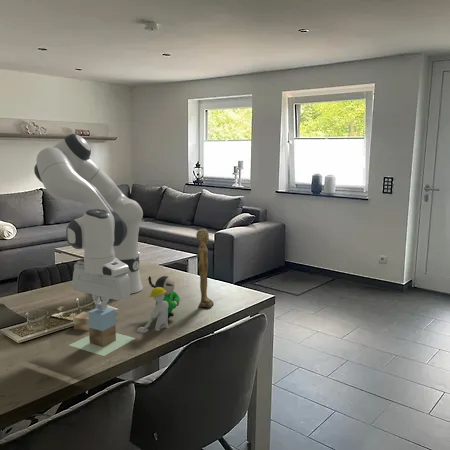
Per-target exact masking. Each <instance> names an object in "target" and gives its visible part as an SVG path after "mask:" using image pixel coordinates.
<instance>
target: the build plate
mask: <svg viewBox="0 0 450 450" xmlns="http://www.w3.org/2000/svg"><path fill="white" fill-rule="evenodd" d="M135 339H136V337H132V336H129V335H125V334H121V333H118V332H116V341H114V342H112V343H110V344H108V345H106V346H104V347H101V346H98V345H95V344H91V343H90V340H89V335H87V336H84V337H83V338H81V339H79V340H77V341H75V342H72V343H71V344H68V346H70V347H73V348H76V349H80V350H82V351H86V352H89V353H92V354H95V355H99V356H103V357H105V356H107V355H109V354H110V353H112V352H114V351H115V350H117V349H119V348H122V347H123V346H125V345H126V344H128V343H130V342H133V341H134V340H135Z"/></svg>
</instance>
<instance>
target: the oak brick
mask: <svg viewBox="0 0 450 450" xmlns="http://www.w3.org/2000/svg"><path fill="white" fill-rule="evenodd" d="M88 312H89V311H82V312H79V313H80V314H78V315H77V316H75V317H74V321H73V328H74V330H79V331H88V332H89V318H88Z"/></svg>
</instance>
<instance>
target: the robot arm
mask: <svg viewBox="0 0 450 450" xmlns="http://www.w3.org/2000/svg"><path fill="white" fill-rule="evenodd" d="M91 153H92V150H91V147H90V145H89V143H88V142H87V140H86V139H85V138H83V137H82V136H81V135H79V134H77V133H70V134H69V135H66V136H65V137H64V139H62V140H60V141H59V142H58V143H56V144H55V145H53V146H51V147H45V148H43V149H42V150H40V151H39V152H38V153H37V155H36V159H35V160H36V164H35V166H34V170H33V171H34V174H35V177H36V178H37V179H38V181H39V182H41V183H42V185H43V186H44V188H45V190H46V191H47V193H48V194H49V195H50V196H52V197H53V198H55V199H58V200H62V201H68V202H75V203H78V204H83V205H85V206H87V207H88V208H90V209H87V210H86V211H85V212H84V213H83V215H82V216H81V217H78V218H75V219H72V220H71V221H70V222H69V223H68V225H67V226H66V229H65V230H66V231H65V232H66V234H65V235H66V240H67V241H66V242H67V244H69V246H71V247H72V248H74V249H75V250H84V253H83V261H81V260H77V262H74V265H73V272H72V288H73V290H74V291H76V292H80V293H83V294H89V295H91V298H92V300H93V302H94V305H95V309H100V310H106V309H107V308H108V303H109V301H110V300H116V301H119V302H123V301H125V300H127V299H129V298H130V296H131V294H135V293H138V292H140V291H142V290H143V284H142V280H141V275H140V256H139V231H140V226H141V221H142V220H143V216H144V212H143V209H142V207H141V205H140V203H138V202H137V201H136V200H134V199H131V198H129V197H128V196H126V195H125V194H124V193H123V192H122V191H121V189H120V188H119V187H118V185H117V184H116V183H115V182H114V180H113V179H112V178H111V177H110V176H109V175H107V173H106V172H105V171H104V170H103V169H102V168H101V167H100V166H99V165H98V164H97V163H96V162H95V161H93V160H92V159H91V155H92V154H91Z"/></svg>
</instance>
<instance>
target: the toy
mask: <svg viewBox="0 0 450 450" xmlns="http://www.w3.org/2000/svg"><path fill="white" fill-rule="evenodd" d="M147 280H148V284H149V285H150V287H151V288H153V289H154V288H156V287H162V288H164V289H165V290H166V292H165V296H164V299H163V301H167V302H168V316H169V317H171V316H174V315H175V314H174V312H173V310H174V309H176V308H177V307H178V306H179V304H180V301H181V300H180V299H181V298H180V295H179V294H178V293H177V292H176V291H174V290H175V281H174V280H173V279H172V277H170V276H168V275H163V276H160V277H158V279H156V281H155V284H153V282H152V277H151V276H148V278H147ZM156 304H157V301H156V300H155V307H156ZM155 307H154V308H155Z"/></svg>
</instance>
